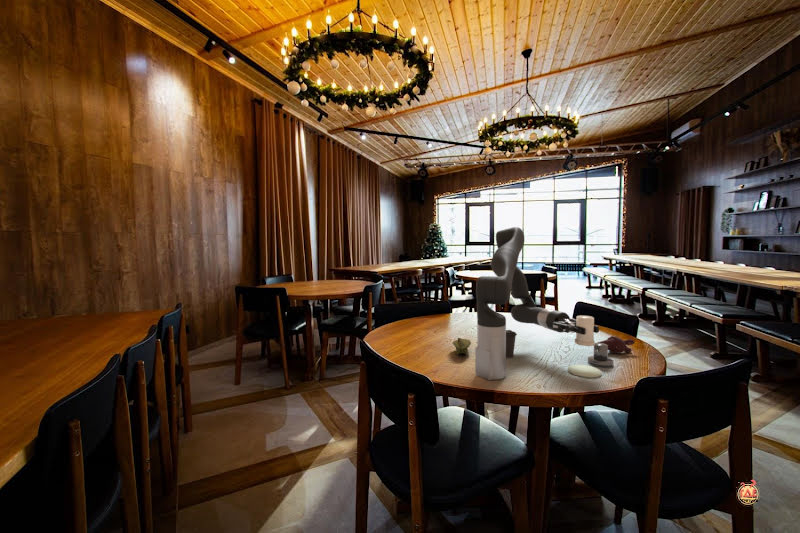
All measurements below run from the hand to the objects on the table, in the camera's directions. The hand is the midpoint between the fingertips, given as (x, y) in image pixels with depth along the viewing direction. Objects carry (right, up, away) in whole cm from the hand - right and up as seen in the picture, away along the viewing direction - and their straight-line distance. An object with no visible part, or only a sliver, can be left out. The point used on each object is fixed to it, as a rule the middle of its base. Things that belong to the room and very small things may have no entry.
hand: (591, 330), depth 114 cm
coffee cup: (-22, -14, +22) cm, 34 cm away
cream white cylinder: (-1, -5, +3) cm, 6 cm away
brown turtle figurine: (+22, -13, +23) cm, 34 cm away
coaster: (-1, -15, +3) cm, 15 cm away
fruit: (-39, -14, +25) cm, 48 cm away
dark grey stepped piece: (+9, -14, +11) cm, 20 cm away
